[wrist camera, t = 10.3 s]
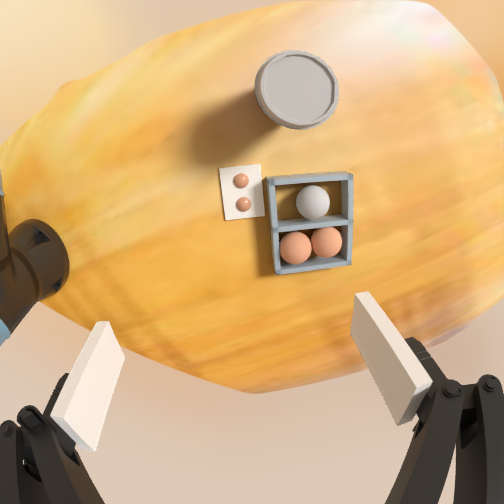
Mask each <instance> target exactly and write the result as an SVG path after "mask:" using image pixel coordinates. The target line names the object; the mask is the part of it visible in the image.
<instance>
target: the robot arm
mask: <svg viewBox="0 0 504 504" xmlns="http://www.w3.org/2000/svg"><path fill="white" fill-rule="evenodd" d="M4 196H5V195H4V192H3V188H2V177H1V171H0V346H1V344H2V343H3V342H4V341H5V340H6V339H8V338H9V337H10V335H11V334H12V332H13V331H14V330H15V328H16V327H17V326H18V324H19V323H20V322H21V320H22V319H23V318H24V317H25V315H26V314H27V313H28V312H29V310H30V309H31V308H32V306H34V304H35V303H36V302H38V301H40V300H42V299H45V298H47V297H49V296H52V295H54V294H55V293H57V292H58V291H59V290H60V289H61V288H62V287H63V285H64V284H65V283H66V281H67V278H68V275H69V259H68V255H67V251H66V249H65V246H64V244H63V242H62V240H61V239H60V237H59V236H58V234H57V233H56V232H55V231H54V230H53V229H52V228H51V227H50V226H49V225H47V224H46V223H44V222H42V221H40V220H36V219H29V220H26V221H24V222H22V223H20V224H19V225H17V226H16V227H15V228H14V229H13V230H12V231H11V233H10V234H9V236H8V232H7V224H6V216H5V207H4ZM350 334H351V336H352V338H353V340H354V342H355V344H356V345H357V347H358V349H359V351H360V353H361V355H362V357H363V359H364V361H365V363H366V364H367V366H368V368H369V370H370V372H371V374H372V376H373V378H374V380H375V382H376V384H377V386H378V388H379V390H380V392H381V394H382V396H383V398H384V400H385V402H386V404H387V406H388V408H389V410H390V412H391V414H392V416H393V419H394V421H395V423H396V425H397V426H399V425H401V424H404V423H407V422H409V421H411V420H412V419H413V418H414V416H415V414H417V415H418V417H419V420H418V422H417V424H416V426H415V427H414V429H413V431H415V432H414V435H413V438H412V441H411V443H410V446H409V449H408V452H407V455H406V457H405V460H404V462H403V465H402V467H401V469H400V472H399V474H398V477H397V479H396V481H395V483H394V486H393V488H392V490H391V492H390V494H389V496H388V498H387V500H386V503H385V504H438V501H439V498H440V495H441V493H442V490H443V487H444V484H445V481H446V477H447V474H448V471H449V467H450V464H451V460H452V456H453V452H454V448H455V444H456V475H455V492H454V502H453V504H504V394H503V390H502V386H501V383H500V381H499V380H498V379H497V378H496V377H495V376H493V375H488V374H487V375H483V376H482V377H481V378H480V379H479V381H478V382H477V384H469V385H461V384H460V383H459V382H457V381H455V380H449V379H447V378H446V376H445V375H444V374H443V372H442V371H441V370H440V368H439V367H438V365H437V364H436V362H435V361H434V360H433V358H431V355H430V354H429V353H428V352H427V351H426V349H425V347H424V346H423V345H422V343H421V342H419V341H418V340H416V339H415V338H413V337H410V338H407V339H403V337H402V336H401V335H400V333H399V332H398V330H397V329H396V328H395V326H394V325H393V324H392V322H391V321H390V319H389V318H388V317H387V315H386V314H385V313H384V311H383V310H382V309H381V307H380V306H379V305H378V303H377V302H376V301H375V300H374V298H373V297H372V296H371V294H370V293H369V292H368V291H367V292H361V293H356V294H355V300H354V309H353V317H352V325H351V332H350ZM124 360H125V356H124V354H123V352H122V350H121V348H120V346H119V344H118V341H117V339H116V337H115V335H114V333H113V330H112V328H111V326H110V323H109V321H98V322H97V323H96V324H95V326H94V328H93V330H92V332H91V334H90V335H89V337H88V339H87V341H86V342H85V344H84V346H83V348H82V350H81V352H80V354H79V356H78V358H77V360H76V362H75V363H74V365H73V367H72V369H71V371H70V373H65V374H64V375H63V376H62V378H60V379H59V381H58V383H57V385H56V387H55V388H56V389H54V391H53V393H52V394H53V395H51V398H50V400H49V402H48V404H47V406H46V408H45V411H44V413H43V415H42V414H41V413H40V412H39V410H38V409H37V408H36V407H34V406H31V405H29V406H25V407H24V408H22V409H21V410H20V412H19V413H18V415H17V422H18V423H19V424H20V425H21V427H18V426H17V425H16V424H15V423H14V422H13V421H11V420H7V421H4V422H3V423H2V424H1V426H0V504H105V503H104V501H103V500H102V498H101V496H100V495H99V493H98V491H97V489H96V488H95V486H94V484H93V482H92V480H91V478H90V477H89V475H88V473H87V471H86V469H85V467H84V465H83V463H82V461H81V459H80V456H79V454H78V452H77V451H76V450H75V444H77V445H78V446H79V447H80V448H81V449H83V450H88V451H92V452H96V448H97V445H98V441H99V437H100V433H101V430H102V427H103V423H104V420H105V417H106V413H107V410H108V407H109V404H110V401H111V398H112V395H113V392H114V389H115V386H116V382H117V380H118V377H119V374H120V371H121V368H122V366H123V363H124ZM23 460H24V465H23Z"/></svg>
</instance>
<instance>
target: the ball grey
mask: <svg viewBox="0 0 504 504" xmlns="http://www.w3.org/2000/svg"><path fill="white" fill-rule="evenodd" d="M296 206H297V209H298V211H299V212H300V214H301V215H303V216H304V217H306V218H308V219H318V218H321V217H322V216H324V215H325V214H326V213H327V211H328V209H329V206H330V200H329V196H328V194H327V192H326V191H325V190H324V189H323V188H321V187H319V186H315V185H310V186H306V187H304V188H303V189H301V190H300V192H299V193H298V195H297V198H296Z"/></svg>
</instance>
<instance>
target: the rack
mask: <svg viewBox="0 0 504 504" xmlns="http://www.w3.org/2000/svg"><path fill="white" fill-rule="evenodd" d="M338 180H341V214H339V215H329V216H322V217H321V218H318V219H308V218H298V219H289V220H280V221H278V220H277V206H276V193H275V185H284V184H296V183H308V182H322V181H338ZM266 182H267V194H268V206H269V218H270V230H271V243H272V257H273V267H274V271H275V274H276V275H280V274H288V273H296V272H303V271H311V270H318V269H325V268H332V267H339V266H346V265H351V258H352V237H353V174H351V173H348V172H346V171H345V172H325V173H309V174H295V175H283V176H272V177H266ZM332 226H341V238H342V246H341V254H336V255H334V256H332V257H329V258H323V257H320V256H318V257H310V258H308V259H307V260H306V261H304V262H303V263H300V264H290V263H288V262H286V261H280V250H279V235H278V232H286V231H295V230H304V229H313V228H323V227H332Z"/></svg>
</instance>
